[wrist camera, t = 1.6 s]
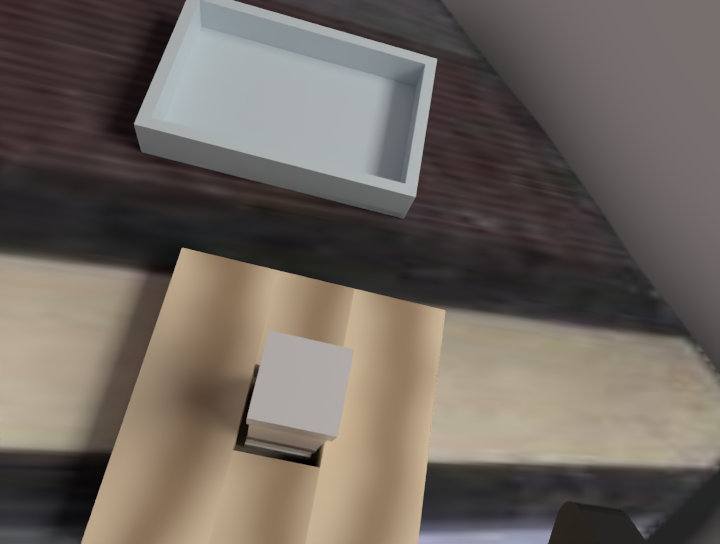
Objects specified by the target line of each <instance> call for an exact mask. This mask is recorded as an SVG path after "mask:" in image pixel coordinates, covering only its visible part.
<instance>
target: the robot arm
mask: <svg viewBox="0 0 720 544" xmlns="http://www.w3.org/2000/svg"><path fill="white" fill-rule="evenodd" d="M548 544H647V542H646V541H645V539H644V538H643V536H642V535H641V534H640V532H639V531H638V529H637V528H636V526H635V525H634V524H633V522H632V521H631V519H630V518H629V516H628V515H627V514H626V513H625V512H624V511H623V510H621V509H619V508H613V507H605V506H598V505H591V504H584V503H577V502H566V503H564V504H563V505H562V506H561V508H560V510H559V512H558V514H557V517H556V521H555V524H554V527H553V530H552V533H551V536H550V540H549V543H548Z"/></svg>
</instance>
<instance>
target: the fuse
mask: <svg viewBox="0 0 720 544" xmlns="http://www.w3.org/2000/svg"><path fill="white" fill-rule="evenodd" d="M353 352H354V349H350V348H346V347H341V346H337V345H333V344H328V343H324V342H319V341H315V340H310V339H306V338H302V337H297V336H293V335H288V334H284V333H280V332H275V331H271V330H269V332H268V336H267V340H266V344H265V348H264V352H263V356H262V360H261V363H260V367H259V371H258V375H257V379H256V383H255V387H254V391H253V395H252V399H251V403H250V407H249V411H248V415H247V421H246V424H249V429H248V433H247V437H246V441H245V447H247V448H252V449H257V450H261V451H266V452H271V453H276V454H281V455H286V456H291V457H296V458H301V459H306V460H308V459H309V458H311V453H315V452H316V451H317V449H318V448H319V447H320V446H321V445H323V444H324V443H325V442H326V441H331V442H332V441H333V440H335V439H336V438H337V437H338V433H339V428H340V422H341V417H342V411H343V406H344V401H345V395H346V390H347V384H348V379H349V374H350V368H351V363H352V357H353Z"/></svg>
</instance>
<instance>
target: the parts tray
mask: <svg viewBox="0 0 720 544" xmlns="http://www.w3.org/2000/svg"><path fill="white" fill-rule="evenodd" d="M436 63H437V59H435V58H432V57H428V56H425V55H421V54H418V53H414V52H411V51H408V50H404V49H401V48H397V47H394V46H390V45H387V44H383V43H380V42H376V41H373V40H369V39H366V38H362V37H359V36H355V35H352V34H348V33H345V32H341V31H338V30H334V29H331V28H327V27H324V26H320V25H317V24H313V23H310V22H306V21H303V20H299V19H296V18H292V17H289V16H285V15H282V14H278V13H275V12H272V11H268V10H265V9H261V8H258V7H254V6H251V5H247V4H244V3H240V2H237V1H233V0H186V2H185V5H184V7H183V9H182V12H181V14H180V16H179V19H178V21H177V24H176V26H175V28H174V31H173V33H172V35H171V38H170V40H169V42H168V45H167V47H166V49H165V52H164V54H163V57H162V59H161V61H160V64H159V66H158V68H157V71H156V73H155V75H154V78H153V80H152V82H151V85H150V87H149V90H148V92H147V94H146V97H145V99H144V101H143V104H142V106H141V108H140V111H139V113H138V115H137V118H136V120H135V123H134V127H135V130H136V134H137V138H138V141H139V145H140V149H141V152H143V153H147V154H151V155H155V156H158V157H162V158H166V159H170V160H174V161H178V162H182V163H186V164H190V165H194V166H198V167H202V168H206V169H210V170H214V171H218V172H221V173H225V174H229V175H233V176H237V177H241V178H245V179H249V180H253V181H257V182H261V183H265V184H269V185H273V186H277V187H281V188H284V189H288V190H292V191H296V192H300V193H304V194H308V195H312V196H316V197H320V198H324V199H328V200H332V201H336V202H340V203H344V204H347V205H351V206H355V207H359V208H363V209H367V210H371V211H375V212H379V213H383V214H387V215H391V216H395V217H399V218H403V219H404V217H405V215H406V213H407V212H408V210H409V208H410V206H411V204H412V203H413V201H414V199H415V197H416V191H417V185H418V178H419V172H420V166H421V159H422V153H423V146H424V140H425V134H426V127H427V121H428V114H429V108H430V101H431V95H432V89H433V82H434V76H435V69H436Z"/></svg>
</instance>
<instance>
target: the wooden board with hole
mask: <svg viewBox="0 0 720 544" xmlns="http://www.w3.org/2000/svg"><path fill="white" fill-rule="evenodd" d="M444 318H445V310H442V309H437V308H433V307H429V306H425V305H421V304H416V303H412V302H408V301H404V300H400V299H395V298H391V297H387V296H383V295H379V294H374V293H370V292H366V291H362V290H358V289H353V288H349V287H345V286H341V285H337V284H332V283H328V282H324V281H320V280H316V279H311V278H307V277H303V276H299V275H295V274H290V273H286V272H282V271H278V270H274V269H269V268H265V267H261V266H257V265H253V264H248V263H244V262H240V261H236V260H232V259H227V258H223V257H219V256H215V255H211V254H206V253H202V252H198V251H194V250H190V249H185V248H182V249H181V252H180V255H179V258H178V261H177V264H176V267H175V270H174V273H173V276H172V279H171V281H170V284H169V287H168V290H167V293H166V296H165V299H164V302H163V305H162V308H161V311H160V314H159V317H158V320H157V322H156V325H155V328H154V331H153V334H152V337H151V340H150V343H149V346H148V349H147V352H146V355H145V358H144V361H143V363H142V366H141V369H140V372H139V375H138V378H137V381H136V384H135V387H134V390H133V393H132V396H131V399H130V402H129V404H128V407H127V410H126V413H125V416H124V419H123V422H122V425H121V428H120V431H119V434H118V437H117V440H116V443H115V445H114V448H113V451H112V454H111V457H110V460H109V463H108V466H107V469H106V472H105V475H104V478H103V481H102V484H101V486H100V489H99V492H98V495H97V498H96V501H95V504H94V507H93V510H92V513H91V516H90V519H89V522H88V525H87V527H86V530H85V533H84V536H83V539H82V542H81V544H418V537H419V529H420V520H421V512H422V503H423V495H424V486H425V478H426V470H427V461H428V453H429V444H430V436H431V428H432V419H433V411H434V402H435V394H436V385H437V377H438V369H439V360H440V352H441V343H442V335H443V327H444ZM269 330H271V331H275V332H280V333H284V334H288V335H293V336H297V337H302V338H306V339H310V340H315V341H319V342H324V343H328V344H333V345H337V346H341V347H346V348H350V349H354V352H353V357H352V363H351V368H350V374H349V379H348V384H347V390H346V395H345V401H344V406H343V411H342V417H341V422H340V428H339V433H338V437H337V438H336V439H335V440H333V441H332V442H331V441H326V442H325V443H324V444H323V445H321V446H320V447H319V450H318V455H317V460H316V465H315V467H314V466H309V465H304V464H299V463H294V462H289V461H284V460H279V459H274V458H270V457H265V456H260V455H255V454H250V453H245V452H240V451H235V446H236V442H237V438H238V434H239V430H240V426H241V423H242V419H243V415H244V411H245V407H246V403H247V399H248V395H249V391H250V387H251V383H252V380H253V376H254V374H257V375H258V371H259V367H260V363H261V360H262V356H263V352H264V348H265V344H266V340H267V336H268V332H269Z"/></svg>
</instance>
